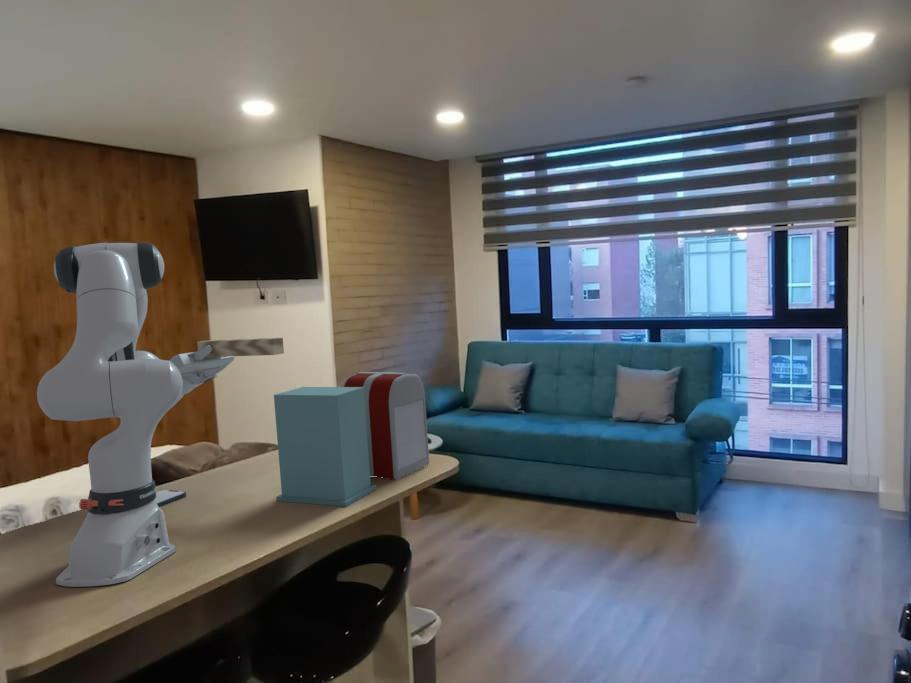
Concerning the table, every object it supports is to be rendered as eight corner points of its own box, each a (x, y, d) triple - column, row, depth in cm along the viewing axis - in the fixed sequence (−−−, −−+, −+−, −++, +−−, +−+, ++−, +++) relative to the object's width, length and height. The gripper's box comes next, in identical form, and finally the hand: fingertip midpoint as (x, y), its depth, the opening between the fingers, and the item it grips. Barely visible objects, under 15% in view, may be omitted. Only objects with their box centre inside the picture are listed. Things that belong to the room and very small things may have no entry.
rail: (283, 353, 178) (282, 337, 178) (273, 355, 175) (272, 338, 174) (209, 355, 188) (208, 340, 187) (198, 357, 184) (197, 341, 184)
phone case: (136, 518, 167) (189, 497, 181) (135, 512, 167) (188, 491, 181) (111, 515, 171) (164, 494, 185) (110, 509, 171) (163, 488, 185)
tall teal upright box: (376, 489, 178) (369, 386, 175) (346, 506, 165) (338, 396, 162) (309, 484, 185) (301, 386, 183) (276, 500, 173) (267, 395, 170)
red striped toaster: (396, 480, 185) (389, 377, 182) (344, 474, 194) (337, 376, 192) (431, 464, 199) (425, 369, 196) (381, 459, 208) (374, 368, 206)
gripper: (150, 368, 180) (183, 339, 175) (207, 359, 199) (239, 333, 193) (161, 389, 179) (195, 361, 174) (218, 378, 198) (250, 352, 192)
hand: (219, 346), depth 184 cm, fingers closed on rail, 4 cm apart
